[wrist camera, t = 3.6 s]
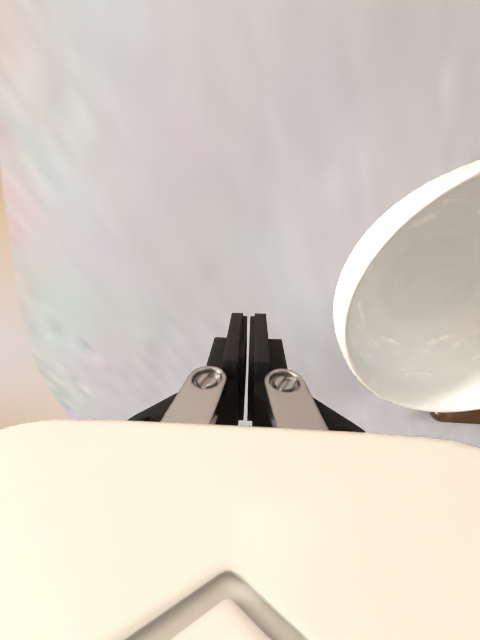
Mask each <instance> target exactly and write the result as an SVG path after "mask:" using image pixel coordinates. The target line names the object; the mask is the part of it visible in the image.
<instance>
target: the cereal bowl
mask: <svg viewBox="0 0 480 640" xmlns="http://www.w3.org/2000/svg"><path fill="white" fill-rule="evenodd" d="M333 300H334V305H333V320H334V328H335V331H336V337H337V340H338V343H339V346H340V348H341V352H342V354H343V355H344V358H345V360H346V362H347V363H348V365H349V368H350V369H351V371H352V372H353V373H354V374H355V376H356V378H357V379H358V380H359V381H360V382H361V383H362V384H363V385H364V386H365V387H366V388H367V389H369V390H370V391H371V392H372V393H374V394H375V395H377V396H378V397H380V398H382V399H384V400H386V401H388V402H390V403H392V404H395V405H398V406H401V407H404V408H409V409H413V410H419V411H427V412H462V411H471V410H478V409H480V160H477V161H474V162H472V163H470V164H469V165H465V166H462V167H459V168H458V169H454V170H453V171H451V172H448V173H445V174H443V175H441V176H439V177H438V178H436V179H434V180H431V181H429V182H428V183H425V184H424V185H423V186H422V187H420V188H418V189H416V190H414V191H412V192H411V193H410V194H409V195H407V196H406V197H405V198H403V199H401V200H400V201H399V202H398V203H396V204H394V205H393V206H392V207H391V208H390V209H389V210H388V211H387V212H386V213H385V214H383V215H382V216H380V217H379V219H378V220H377V221H376V222H375V223H374V224H373V225H372V226H371V227H370V228H369V229H368V230H367V232H366V233H365V235H364V236H363V237H362V238H361V239H360V241H359V242H358V243H357V244H356V246H355V248H354V249H353V251H352V253H351V255H350V256H349V257H348V260H347V262H346V263H345V265H344V269H343V270H342V272H341V275H340V278H339V281H338V283H337V285H336V292H335V297H334V299H333Z"/></svg>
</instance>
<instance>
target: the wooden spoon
mask: <svg viewBox="0 0 480 640" xmlns="http://www.w3.org/2000/svg"><path fill="white" fill-rule="evenodd" d="M430 415H431V416H432V417H433V418H434V419H435V420H437V421H440V422H453V423H471V424H480V409H478V410H471V411H462V412H430Z"/></svg>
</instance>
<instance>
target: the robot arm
mask: <svg viewBox="0 0 480 640" xmlns="http://www.w3.org/2000/svg"><path fill="white" fill-rule="evenodd" d="M246 351H247V316H243V313H232V316H231V321H230V325H229V330H228V335H227V338H219V337H215V339H214V342H213V346H212V349H211V352H210V356H209V359H208V362H207V366H204V367H200V368H197V369H195V370H194V371H192V372H191V373H190V375H189V376H188V378H187V379H186V381H185V382H184V384H183V386H182V387H181V389H180V391H179V392H178V393H176V394H174V395H172V396H170V397H169V398H167V399H165V400H163V401H161V402H159V403H157V404H155V405H154V406H152V407H150V408H148V409H146V410H144V411H142V412H140V413H138V414H137V415H135V416H133V417H131V418H130V419H128V420H127V421H125V420H102V419H58V420H44V421H37V422H30V423H24V424H20V425H15V426H12V427H8V428H3V429H0V640H480V447H476V446H472V445H468V444H464V443H460V442H455V441H450V440H444V439H437V438H430V437H419V436H407V435H396V434H381V433H366V432H365V431H364V430H362V429H361V428H360V427H358V426H357V425H355V424H354V423H352V422H350V421H349V420H347V419H346V418H344V417H343V416H341V415H339V414H338V413H336V412H335V411H333V410H332V409H330V408H328V407H327V406H325V405H324V404H322V403H321V402H319V401H317V400H316V399H314V398H313V397H312V396H311V394H310V392H309V390H308V388H307V386H306V384H305V382H304V380H303V378H302V377H301V376H300V375H299V374H297V373H296V372H294V371H292V370H288V369H287V365H286V360H285V354H284V349H283V344H282V340H281V339H268V332H267V322H266V314H255V316H251V317H250V343H249V373H248V416H247V421H252V426H238V420H243V416H244V397H245V379H246Z"/></svg>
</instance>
